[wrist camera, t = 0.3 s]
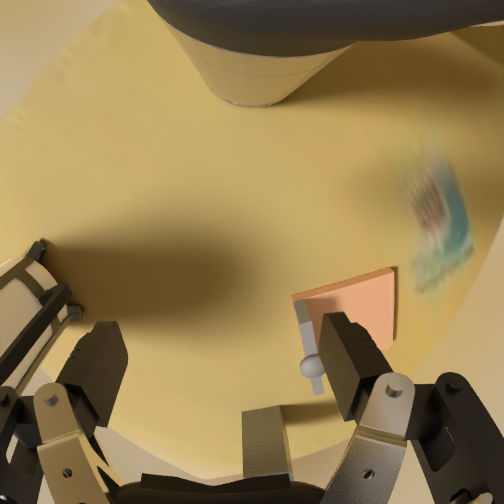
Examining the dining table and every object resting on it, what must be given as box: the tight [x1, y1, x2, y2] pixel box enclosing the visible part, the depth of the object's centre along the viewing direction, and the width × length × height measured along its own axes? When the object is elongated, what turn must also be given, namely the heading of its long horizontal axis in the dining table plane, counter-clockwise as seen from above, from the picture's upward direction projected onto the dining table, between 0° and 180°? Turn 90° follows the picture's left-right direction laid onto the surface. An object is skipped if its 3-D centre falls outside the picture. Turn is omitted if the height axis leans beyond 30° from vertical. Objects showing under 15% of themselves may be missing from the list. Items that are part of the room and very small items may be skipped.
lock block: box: [242, 405, 294, 481], centre depth 34 cm, size 5×6×13 cm
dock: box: [291, 267, 394, 395], centre depth 30 cm, size 12×13×6 cm
